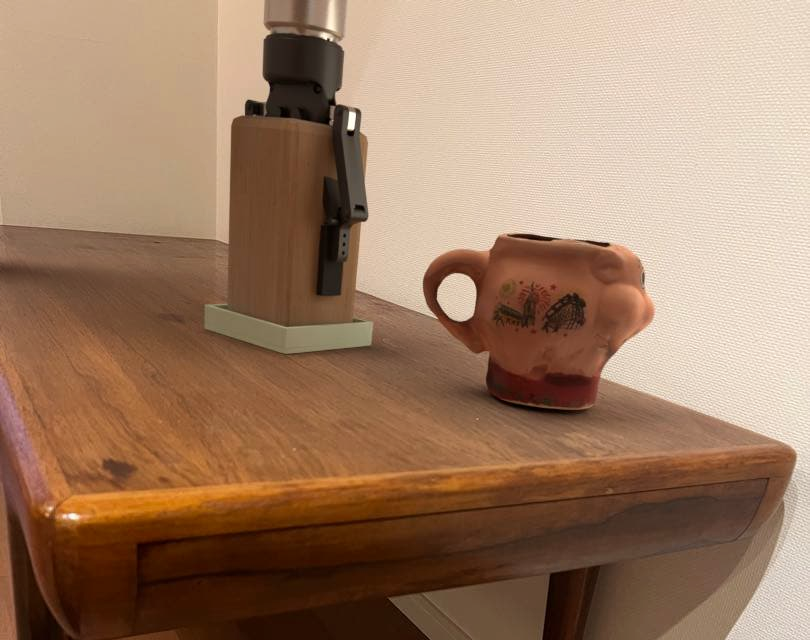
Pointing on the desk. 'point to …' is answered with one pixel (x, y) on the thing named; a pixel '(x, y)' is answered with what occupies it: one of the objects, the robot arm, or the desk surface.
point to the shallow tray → (287, 332)
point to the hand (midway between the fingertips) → (291, 286)
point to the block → (283, 222)
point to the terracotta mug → (546, 313)
